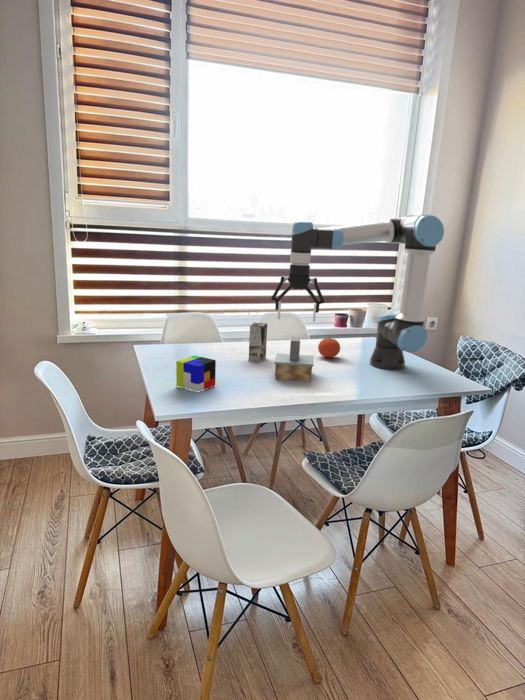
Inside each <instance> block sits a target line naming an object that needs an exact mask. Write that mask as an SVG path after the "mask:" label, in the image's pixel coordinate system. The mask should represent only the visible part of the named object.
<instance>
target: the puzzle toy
mask: <svg viewBox="0 0 525 700" xmlns="http://www.w3.org/2000/svg"><path fill="white" fill-rule="evenodd" d="M216 364H217V363H216V359H213V358H208V357H204V356H200V355H196V354H195V355H191V356H188V357H185V358H182V359H181V358H180V359H179V360H176V375H175V376H176V387H177V386H180V387H183V388H187V389H191V390H193V391H197V392H198V391H201V390H204V389H206V388H209V387H211V386H214V385H215V386H216V370H217V368H216V366H217V365H216ZM215 386H214V387H215ZM211 388H212V387H211ZM209 389H210V388H209ZM204 391H205V390H204Z"/></svg>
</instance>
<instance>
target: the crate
mask: <svg viewBox="0 0 525 700" xmlns="http://www.w3.org/2000/svg"><path fill="white" fill-rule="evenodd" d="M274 370H275V371H274V380H283V381H284V380H285V381H299V382H311V383H312V373H313V372H312V371H313V366H298V365H284V364H275V369H274Z"/></svg>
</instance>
